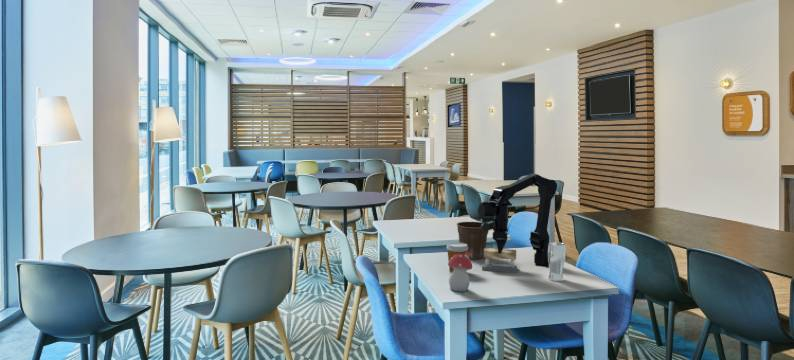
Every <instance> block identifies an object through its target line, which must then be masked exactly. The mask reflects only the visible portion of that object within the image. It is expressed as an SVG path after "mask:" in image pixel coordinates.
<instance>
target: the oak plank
mask: <svg viewBox="0 0 794 360" xmlns="http://www.w3.org/2000/svg"><path fill="white" fill-rule="evenodd" d="M486 258H489V259H499V260H511V259H512V260H514V261H515V260H517V250H516V249H507V248H505V249H504V248H503V250H502V252H501V253H498V248H492V247H491V248H490V247H489V248H488V247H486V248H484V257H483V258H482V259H486Z"/></svg>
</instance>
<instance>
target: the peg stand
mask: <svg viewBox="0 0 794 360" xmlns="http://www.w3.org/2000/svg"><path fill="white" fill-rule="evenodd" d="M481 270H482V271H488V272H489V271H490V272H503V273H518V265H517V264H515V260H512V259H510V264H507V263H506V264H505V263H504V264H503V263H493V262H490V258H485V262H483V263H482V266H481Z"/></svg>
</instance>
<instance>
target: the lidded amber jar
mask: <svg viewBox="0 0 794 360" xmlns="http://www.w3.org/2000/svg"><path fill="white" fill-rule="evenodd" d="M446 250H447V258H448V262H449V260H450V259H451V258H452V257H453V256H454V255H456V254H463V255H465V253H466V252H467V250H468V246H467V244H465V243H459V242H449V243H447V245H446ZM448 267H449V273H452V272H453V270H454V269H453V268H452V267H450V266H448Z"/></svg>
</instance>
